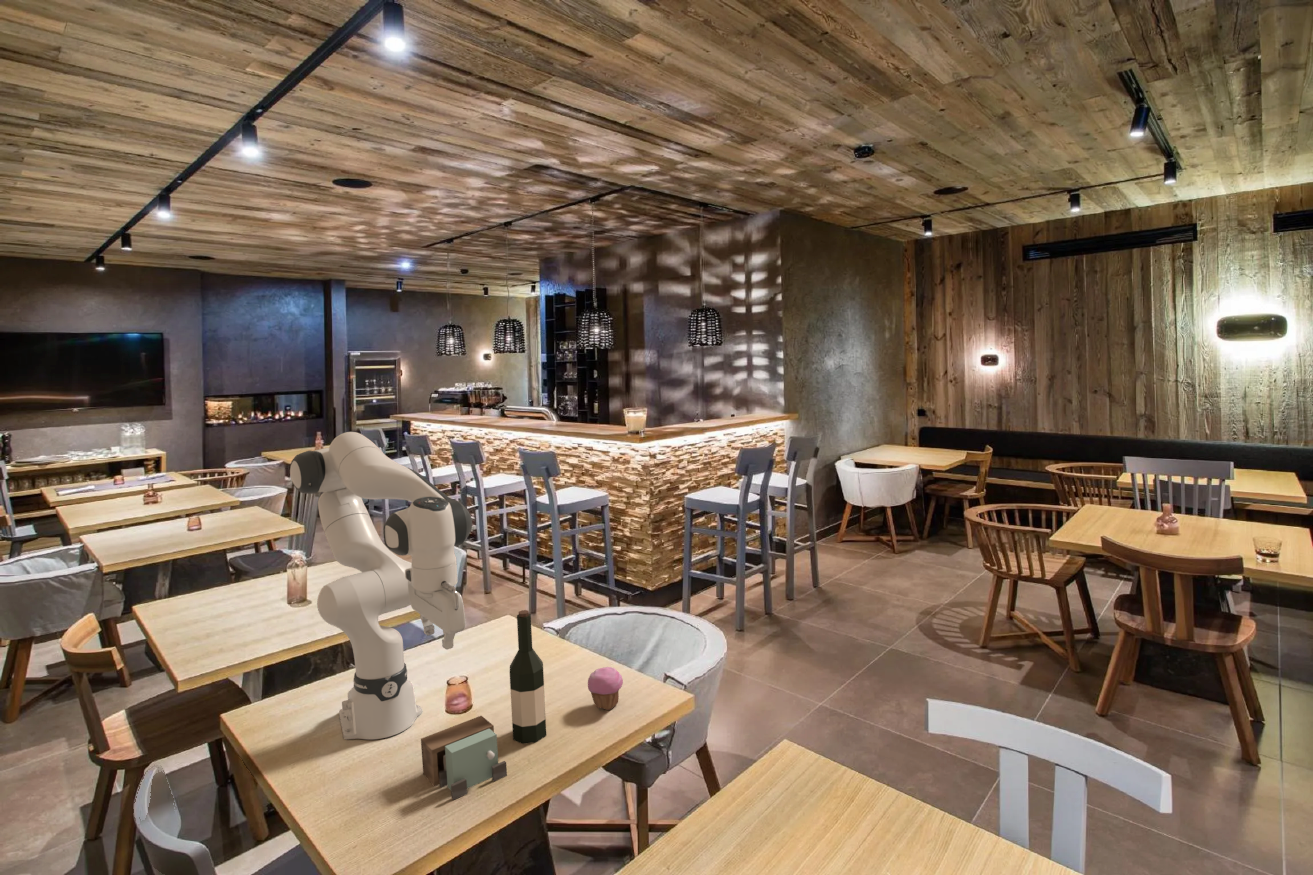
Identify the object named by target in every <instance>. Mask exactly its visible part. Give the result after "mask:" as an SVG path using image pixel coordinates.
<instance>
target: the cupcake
mask: <svg viewBox="0 0 1313 875" xmlns="http://www.w3.org/2000/svg"><path fill="white" fill-rule="evenodd" d="M623 680H624V679H623V676H622V674H621V673H620V672H619V671H618V670H617V669H616V668H615V667H612V666H603V667H600V668H597V669H595V670H594V671H593V672H590V675H589V677H588V678H587V689H588V691H589V692H590V693H591V698H592V701H593V703H594V705H595V706H596V707H597V709H603V710H606V711H609V710H612V709H613V708H614V707H615V706H617V704H618V703H619V700H620V699H619V697H620V696H619V691H620V689H621V688H622V687H623V684H624V681H623Z"/></svg>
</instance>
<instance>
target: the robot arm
mask: <svg viewBox="0 0 1313 875" xmlns="http://www.w3.org/2000/svg"><path fill="white" fill-rule="evenodd" d="M289 468H290V469H289V473H290V479H291V482H292V484H293V485H294V488H295V489H296V490H297V491H298V492H299V493H301V494H307V495H313V494H318V493H321V494H320V496H319V498H318V501H317V507H318V514H319V519H320V523H321V527H322V530H323V532H324V535H325V538H326V540H327V543H328V546H329V549H330V551H331V554H332V556H333V558H334V560H335V561H336V562H337V563H339V564H340V565H342V566H344V567H347V568H353V569H355V570H358V571H359V573H355V574H350V575H347V576H342V577H340V578H337V579H336V580H333V581H331V582H329V583H327V584H325V585H323V586H322V588H321V589H320V591H319V594H318V596H317V600H316V605H317V611H318V613H319V615H320V617H321V618H322V620H323V621H324V622H326V623H328V625H330V626H333V627H336V628H338V629H339V630H341V631H342V632H343V633H344V634H345V635H346V636H347V638H348V639H349V640H348V641H350V644H351V647H352V652H353V658H354V659H353V660H354V667H355V668H354V669H355V673H354V676H353V680H352V682H353V687H352V688H350V689H349V690H348V692H347V699H346V700H342V701H341V707H342V708H341V709H339V712H338V717H339V721H340V726H341V730H342V731H341V732H342V736H343V740H354V739H355V740H356V739H360V740H379V739H384V738H385V739H386V738H389V737H392V736H395V735H398V734H400V733H402V732H404V731H406V730H407V729H409V728H410V727H411V726H412V725H413V724H414V722H415V721H416V718H418V717H419V716H420V715H421V714H423V707H422V706H420V705H418V704H417V703H416V702H417V701H416V694H415V687H414V683H413V682H411V681H410V680H408V668H407V663H405V656H404V642H403V641H404V639H403V637H402V634H401V633H400V632H399V631H398V630H397V629H395V628H393V627H390V626H386V625H380V624H379V616H382V615H384V614H387V613H392V612H394V611H397V610H398V611H399V610H401V609H405V608H407V607H409V606H411V609H412V610H413V611H415V612H416V613H418V614H419V617H420V620H421V621H420V622H421V624H422V626H423V633H424V634H425V635H426V636H433V635H434V634H435V633H436V632H435V626H436V627H437V628H438V629H441V630H442V633H443V639H441V642H442V643H441V647H442V648H443V649H445V650H451V649H452V648H454V640H455V639H454V638H455V636H456V633H460V632H462V631H464V630H465V628H466V624H467V622H466V614H465V606H464V601H463V597H462V595H461V593H460V592H459V591H457V588H456V587H455V585H457V583H458V566H457V564H458V563H457V556H456V554H455V547H458V546H462V545H463V544H464V542H465V541H466V540H467V539H468V538H469V535H470V534H471V531H472V530H473V529H472V528H473V519H472V515H471V514H470V512H469V510H468V508H467V507H466V506H464V504H463V503H461V502H460V501H458V500H456V499H453V498H451V497H449V496H448V495H446V494H445V493H444V492H443V491H441V490H440V489H439V488H438V487H437V486H436V485H434V484H433V483H431V481H430V480H428V479H426V477H424V476H423V475H421V474H420V473H419V472H417V471H416V470H414V469H411V468H410V467H406V466H404V465H403V464H401V463H398V462H396V461H395V460H393V459H392V458H391V457H388V456H387V455H386V454H385V453H384V452H383V451H382V449H381V448H380V447H379V446H378V445H377V444H375V443H374V442H373V441H372V440H370V439H369V438H368V437H366V436H365V435H364V434H362V433H360V432H355V431H347V432H343V433H340V434H339V435H337V436H336V437H335V438H334V439H332V441H331V443H330V445H329V447H324V448H320V449H315V450H306V451H303V452H300V453H299V454H297V455H295V456H294V457H293V458H292V460H291V462H290V467H289ZM363 499H365V500H403V501H409V502H411V503H410V505H409V506H408V507H407V508H405V509H402V510H398V511H395V512H392V513H391V514H390V515H389V516H388V518H387V519H386V521H385V523H384V525H383V540H384V541H382V539H381V537H380V535H379V533H378V532H377V528H376V526H375V525H374V523H373V521H372V518H371V516H370V514H369V511H368V509H367V507H366V505H365V504H364V501H363ZM400 556H410V557H411V559H412V560H411V562H410V561H409V560H405V559H403V558H402V557H400Z"/></svg>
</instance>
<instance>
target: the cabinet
mask: <svg viewBox="0 0 1313 875" xmlns="http://www.w3.org/2000/svg"><path fill="white" fill-rule="evenodd" d="M487 729H491V730H492V731H493V732H494V733H495V728H494V724H492V723H491V722H490V721H488V720H487V719H486V718H485V717H484V716H483V715H478V716H477V717H474V718H471V719H468V720H466V721H464V722H460V723H458V724H456V725H453V726H451V727H447V728H445V729H442V730H439V731H438V732H435V733H432V734H430V735H428V736H427V735H426V736H423V737H422V738H420V747H421V758H422V759H421V760H422V761H421V762H422V763H421V764H422V775H423V776H424V777H425V778H426V780H428V781H429V782H430V783H431V784H432V786H433V787H436V786H440V787H441V788H442V787H446V786H447V771H446V755H445V746H447V745H449V744H452V743H454V742H457V741H459V740H462V739H464V738H467V737H469V736H472V735H474V734H477V733H479V732H482V731H484V730H487ZM507 770H508V769H507V762H506V761H505V760H502V761H501V762H498V764H496V765H494V766H492V779H491V780H492V781H493V782H496V781H498V780H500V779H503V778H505V777H507V776H508V772H507ZM450 793H451V800H452V801H455V800H457V799H459V798H461V797H463V796H466V795H468V789H467V780H466V779H465V778H464V779H462V780H460V781H457V782H455V783H453V784H451V790H450Z"/></svg>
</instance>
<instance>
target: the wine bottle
mask: <svg viewBox="0 0 1313 875" xmlns="http://www.w3.org/2000/svg"><path fill="white" fill-rule="evenodd" d="M529 612H530V611H529V610H527V609H524V610H520V611H518V614H516V623H517V625H516V626H517V645H518V646H517V647H518V650H517V652H516V653H515V656H514V658H513V659H512V661H511V663H510V665H509V686H510V689H509V690H510V706H511V725H512V740H513V741H514V742H517V743H520V744H522V745H525V744H532V743H533V744H534V743H538V742H540V740H542V739H544V738H545V737H547V721H546V720H547V718H546V716H547V715H546V701H545V697H546V696H545V679H544V675H545V674H544V662H543V660H542V659H541V658H540V655H538V653H537V652H536V651H535V650H534V648H533V633H532V615H531V613H529Z"/></svg>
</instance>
